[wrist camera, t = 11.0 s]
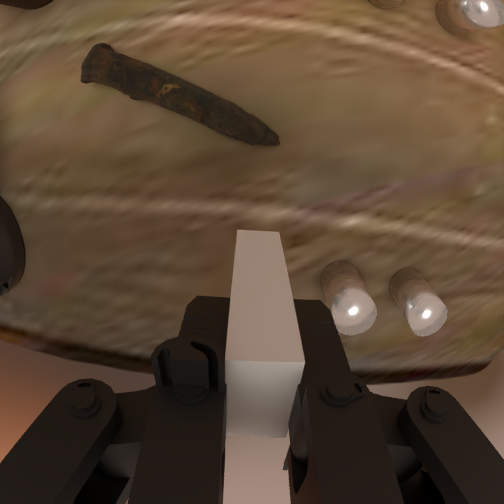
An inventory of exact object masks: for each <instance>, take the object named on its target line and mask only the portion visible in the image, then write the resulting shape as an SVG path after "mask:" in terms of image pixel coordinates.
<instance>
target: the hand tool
mask: <svg viewBox="0 0 504 504" xmlns="http://www.w3.org/2000/svg"><path fill="white" fill-rule="evenodd" d="M81 69H82V75H81V82H82V83H86V84H87V83H91V82H97V83H102V84H104V85H108V86H111V87H114V88H115V89H118V90H119V91H121V92H123V93H124V94H126V95H129V96H130V98H131V99H134V100H148V101H150V102H153V103H155V104H157V105H160V106H162V107H164V108H167V109H170V110H172V111H175V112H177V113H180V114H182V115H185V116H187V117H189V118H191V119H193V120H195V121H197V122H199V123H201V124H203V125H206V126H208V127H209V128H211V129H214V130H215V131H217V132H219V133H221V134H224V135H226V136H228V137H230V138H234V139H237V140H240V141H242V142H245V143H248V144H253V145H254V144H259V145H272V146H277V145H279V144H280V142H279V137H278V135H277V134H276V133H275V132H274V131H272V130H271V129H270V128H269V127H268V126H267V125H266V124H265V123H263V122H262V121H261V120H259V119H258V118H257V117H255V116H254V115H251V114H248V113H247V112H245V111H244V110H243V109H242V108H240V107H239V106H237V105H235V104H234V103H232V102H230V101H227V100H224V99H222V98H220V97H218V96H216V95H214V94H213V93H211V92H209V91H206V90H204V89H202V88H200V87H198V86H196V85H194V84H192V83H190V82H187V81H185V80H183V79H181V78H179V77H176V76H174V75H172V74H169V73H167V72H165V71H163V70H160V69H158V68H155V67H153V66H152V65H149V64H147V63H143V62H141V61H138V60H135V59H132V58H130V57H127V56H125V55H123V54H118V53H115V52H113V51H112V50H111V46H110V45H107V44H105V43H99V44H96V45H94V46H93V47H92V49H91V50H90V52H89V53H88V55H87V57H86V59H85V61H84V62H83V63H82V67H81Z"/></svg>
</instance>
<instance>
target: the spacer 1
mask: <svg viewBox="0 0 504 504" xmlns="http://www.w3.org/2000/svg"><path fill="white" fill-rule="evenodd" d="M321 283H322V287H323V290H324V293H325V296H326V300H327V303H328V306H329V309H330V310H331V313H332V316H333V319H334V322H335V325H336V328H337V330H338V331H339V332H340V333H342V334H345V335H356V334H360V333H362V332H364V331H366V330H367V329H369V328H370V327H371V326H372V325H373V323H374V322H375V320H376V317H377V309H376V306H375V304H374V302H373V300H372V298H371V296H370V294H369V293H368V291H367V289H366V287H365V285H364V283H363V281H362V279H361V277H360V275H359V273H358V272H357V270H356V268H355V267H354V266H353V265H352V264H351V263H349V262H346V261H338V262H334V263H332V264H330V265H329V266H328V267H327V268H326V269H325V270H324V271H323V273H322V276H321Z"/></svg>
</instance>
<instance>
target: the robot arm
mask: <svg viewBox="0 0 504 504" xmlns="http://www.w3.org/2000/svg"><path fill="white" fill-rule="evenodd" d="M24 263H25V255H24V246H23V241H22V237H21V234H20V230H19V228H18V225H17V223H16V220H15V218H14V216H13V214H12V212H11V211H10V209H9V208H8V206H7V205H6V203H5V202H4V201H3V199H2V198H1V197H0V296H1V295H4V294H6V293H7V292H8V291H10V290H11V289H12V288H13V287H14V286H15V285H16V284H17V283H18V282H19V280H20V279H21V277H22V274H23V270H24ZM151 361H152V366H153V371H154V376H155V381H156V385H155V386H152V387H150V388H148V389H145V390H140V391H136V392H126V393H116V394H115V393H114V392H113V390H112V388H111V387H110V386H108V385H107V384H105V383H104V382H102V381H99V380H95V379H79V380H76V381H74V382H72V383H69V384H67V385H66V386H65V387H64V388H63V389H61V390H60V391H59V392H58V393H57V395H56V396H55V397H54V398H53V399H52V401H51V402H50V403H49V404H48V405H47V406H46V408H45V409H44V410H43V411H42V412H41V413H40V415H39V416H38V417H37V418H36V420H35V421H34V422H33V423H32V424H31V426H30V427H29V428H28V429H27V430H26V432H25V433H24V434H23V435H22V437H21V438H20V439H19V440H18V442H17V443H16V444H15V445H14V447H13V448H12V449H11V450H10V452H9V453H8V454H7V455H6V457H5V458H4V459H3V461H2V462H1V463H0V504H125V503H126V501H127V500H128V498H129V500H128V504H223V488H224V469H225V439H226V436H235V437H272V438H275V437H286V436H287V432H288V429H289V435H290V446H289V449H288V452H287V456H286V459H285V462H284V467H283V470H288V473H289V486H290V498H291V499H290V500H291V504H504V459H503V458H502V457H501V455H500V454H499V453H498V451H497V450H496V449H495V447H494V446H493V445H492V444H491V442H490V441H489V440H488V438H487V437H486V436H485V435H484V433H483V432H482V431H481V430H480V428H479V427H478V426H477V425H476V423H475V422H474V421H473V420H472V418H471V417H470V416H469V415H468V414H467V412H466V411H465V410H464V409H463V407H462V406H461V405H460V404H459V402H458V401H457V400H456V399H455V398H454V397H453V396H452V395H451V394H449V393H448V392H447V391H445V390H443V389H441V388H438V387H432V386H425V387H419V388H417V389H416V390H414V391H413V392H411V394H410V396H409V397H408V399H407V400H404V399H397V398H392V397H386V396H381V395H378V394H374V393H372V392H370V391H369V389H368V388H367V386H366V384H365V383H364V382H363V381H362V380H361V379H360V378H358V377H357V376H356V375H353V374H352V373H351V370H350V367H349V364H348V360H347V357H346V354H345V351H344V348H343V345H342V342H341V339H340V336H339V335H338V331H337V328H336V325H335V322H334V319H333V316H332V313H331V310H330V309H329V308H328V307H327V306H326V305H325V304H324V303H323V302H322V301H321V300H300V299H293V297H292V292H291V287H290V282H289V277H288V272H287V268H286V263H285V258H284V253H283V249H282V244H281V239H280V234H279V232H270V231H252V230H237V239H236V249H235V258H234V268H233V279H232V289H231V298H226V297H209V296H196V297H195V298H194V299H193V300H192V301H191V302H190V303H189V304H188V305H187V307H186V311H185V314H184V320H183V321H182V325H181V330H180V332H179V336H178V337H176V338H173V339H169V340H166V341H165V342H163V343H162V344H160V345H159V346H157V347H156V349H155V350H154V352H153V353H152V355H151Z"/></svg>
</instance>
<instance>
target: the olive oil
mask: <svg viewBox="0 0 504 504" xmlns="http://www.w3.org/2000/svg"><path fill="white" fill-rule="evenodd" d="M51 1H52V0H0V4H3V5H8V6H13V7H18V8H23V9H36V8H39V7H42V6H44V5H46V4H48V3H49V2H51Z"/></svg>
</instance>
